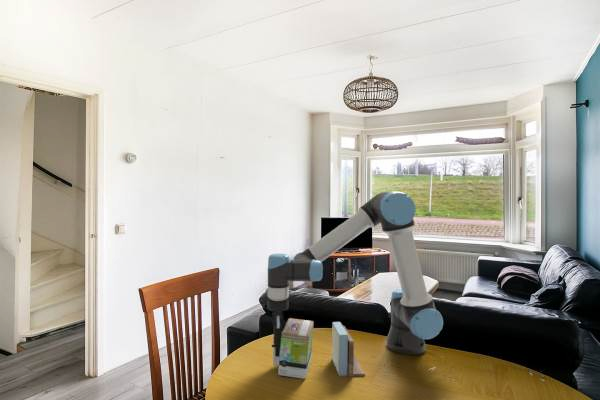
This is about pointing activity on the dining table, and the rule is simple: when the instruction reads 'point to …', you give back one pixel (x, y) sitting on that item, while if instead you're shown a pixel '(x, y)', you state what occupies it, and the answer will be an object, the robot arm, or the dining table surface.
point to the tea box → (296, 348)
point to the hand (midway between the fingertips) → (277, 363)
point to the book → (339, 348)
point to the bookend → (353, 359)
